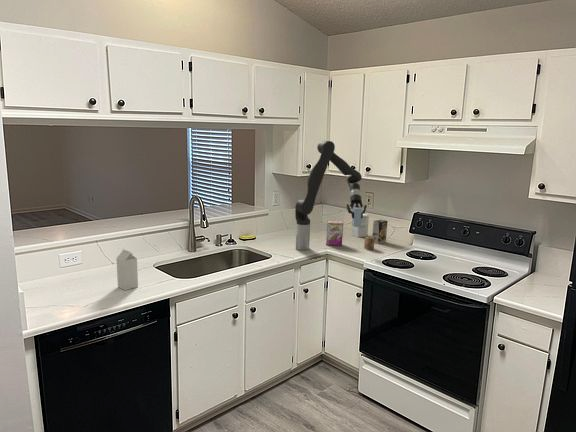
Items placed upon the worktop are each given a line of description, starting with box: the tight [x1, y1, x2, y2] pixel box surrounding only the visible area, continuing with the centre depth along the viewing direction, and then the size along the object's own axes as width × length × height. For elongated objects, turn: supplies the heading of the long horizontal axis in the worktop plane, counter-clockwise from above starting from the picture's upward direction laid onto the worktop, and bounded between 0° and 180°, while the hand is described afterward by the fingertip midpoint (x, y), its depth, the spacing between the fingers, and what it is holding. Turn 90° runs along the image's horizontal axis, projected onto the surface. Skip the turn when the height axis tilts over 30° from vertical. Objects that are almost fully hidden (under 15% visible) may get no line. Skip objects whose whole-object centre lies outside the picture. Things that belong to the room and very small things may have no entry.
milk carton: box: [116, 248, 139, 291], centre depth 221 cm, size 7×7×19 cm
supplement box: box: [350, 213, 370, 238], centre depth 343 cm, size 10×9×17 cm
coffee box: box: [371, 219, 388, 245], centre depth 324 cm, size 9×6×16 cm
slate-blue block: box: [351, 207, 363, 227], centre depth 294 cm, size 4×4×12 cm
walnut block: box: [364, 236, 375, 251], centre depth 306 cm, size 5×5×8 cm
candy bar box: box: [325, 220, 344, 247], centre depth 313 cm, size 11×5×16 cm, turn 84°
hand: (357, 218), depth 292 cm, fingers closed on slate-blue block, 4 cm apart
